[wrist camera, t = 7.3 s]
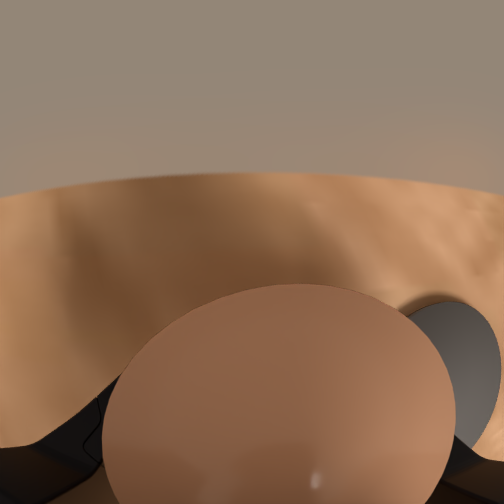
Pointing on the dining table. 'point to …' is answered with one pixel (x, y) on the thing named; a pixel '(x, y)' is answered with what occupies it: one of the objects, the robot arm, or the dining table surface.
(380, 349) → the tan rounded cylinder
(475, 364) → the mat
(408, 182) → the dining table surface
